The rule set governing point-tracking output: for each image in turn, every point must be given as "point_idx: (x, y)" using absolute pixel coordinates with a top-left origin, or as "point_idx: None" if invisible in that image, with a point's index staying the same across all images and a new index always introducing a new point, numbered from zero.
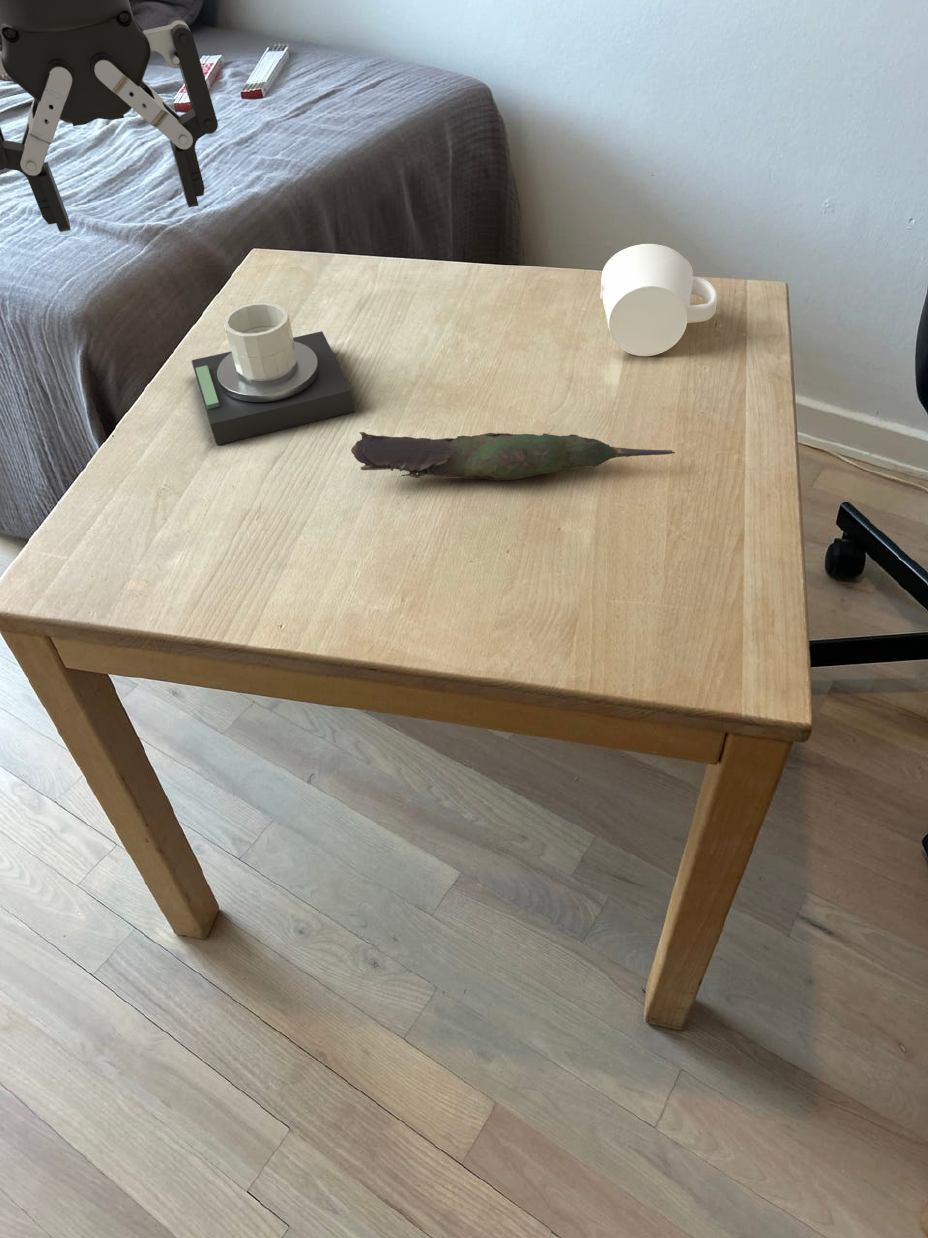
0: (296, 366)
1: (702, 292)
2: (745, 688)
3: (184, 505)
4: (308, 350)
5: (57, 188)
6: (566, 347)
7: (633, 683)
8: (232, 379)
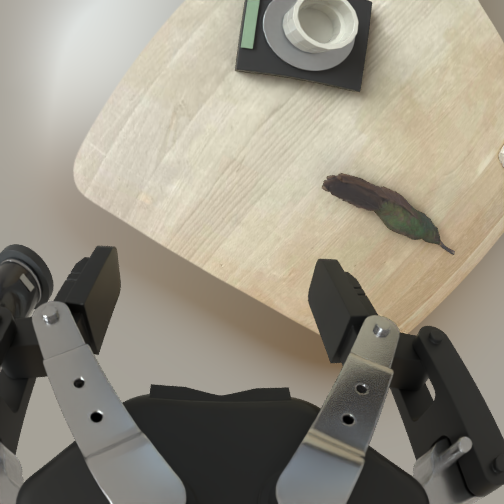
0: None
1: None
2: None
3: (190, 131)
4: None
5: (100, 276)
6: (484, 123)
7: None
8: (275, 28)
